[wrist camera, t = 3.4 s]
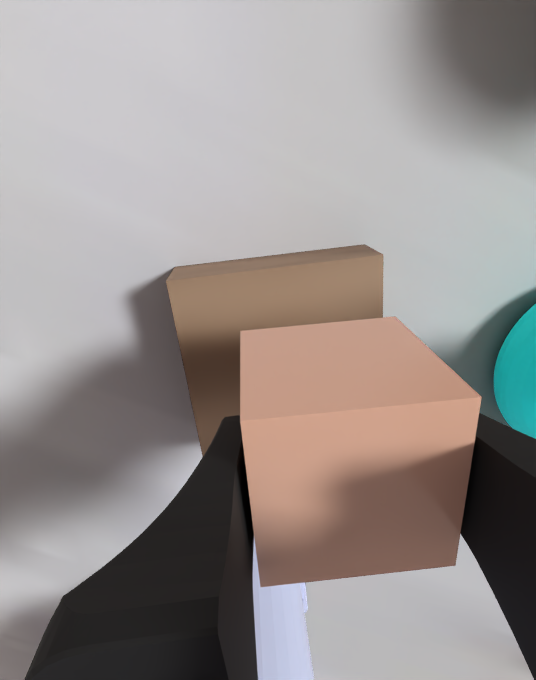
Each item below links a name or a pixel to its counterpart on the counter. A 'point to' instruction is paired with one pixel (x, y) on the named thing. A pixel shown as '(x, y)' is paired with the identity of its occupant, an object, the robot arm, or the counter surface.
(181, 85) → the counter surface
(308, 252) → the slab
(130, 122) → the counter surface
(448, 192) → the counter surface
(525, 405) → the donuts
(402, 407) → the cube
